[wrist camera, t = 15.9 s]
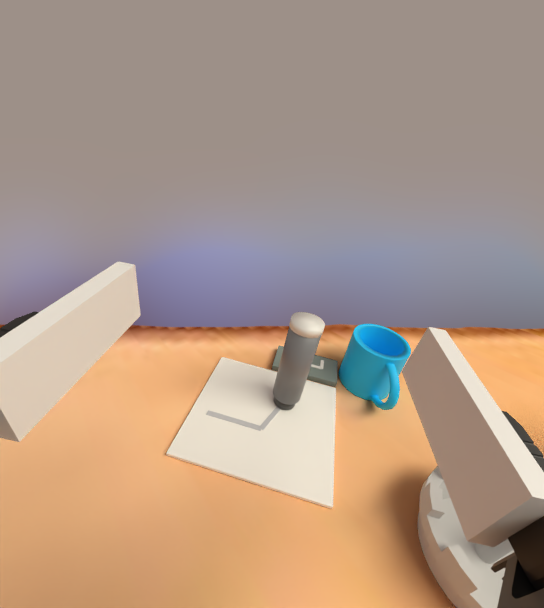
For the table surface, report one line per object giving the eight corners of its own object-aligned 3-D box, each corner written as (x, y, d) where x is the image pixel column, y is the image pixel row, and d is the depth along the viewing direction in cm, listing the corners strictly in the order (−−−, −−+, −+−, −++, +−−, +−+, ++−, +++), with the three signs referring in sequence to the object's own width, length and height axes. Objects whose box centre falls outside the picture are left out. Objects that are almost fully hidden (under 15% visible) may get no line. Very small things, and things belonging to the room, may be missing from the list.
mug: (333, 359, 47) (346, 321, 43) (378, 364, 48) (396, 326, 44) (353, 422, 37) (374, 379, 33) (410, 426, 38) (437, 384, 33)
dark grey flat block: (271, 370, 43) (272, 364, 42) (277, 350, 47) (278, 345, 46) (335, 387, 41) (337, 382, 41) (335, 365, 46) (337, 360, 45)
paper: (166, 455, 29) (166, 452, 29) (221, 358, 43) (221, 356, 43) (331, 509, 27) (333, 506, 27) (335, 390, 41) (336, 387, 41)
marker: (267, 407, 36) (288, 324, 30) (273, 387, 39) (293, 308, 33) (296, 416, 35) (323, 334, 29) (300, 395, 39) (325, 317, 33)
